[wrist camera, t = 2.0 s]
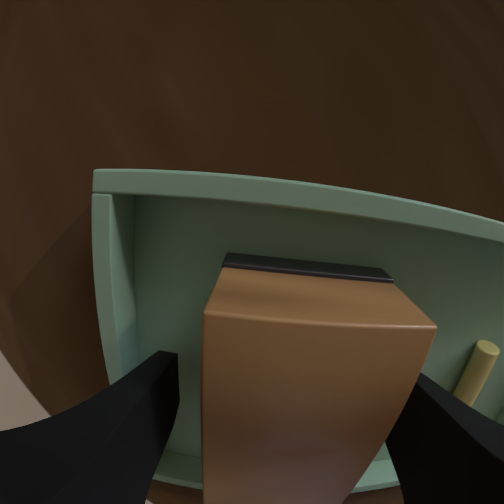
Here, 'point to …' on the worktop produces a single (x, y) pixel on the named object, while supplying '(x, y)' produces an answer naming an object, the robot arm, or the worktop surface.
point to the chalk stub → (476, 371)
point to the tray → (282, 246)
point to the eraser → (302, 377)
